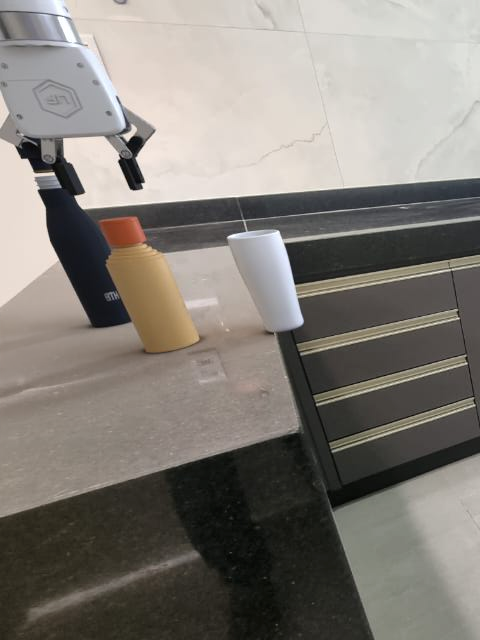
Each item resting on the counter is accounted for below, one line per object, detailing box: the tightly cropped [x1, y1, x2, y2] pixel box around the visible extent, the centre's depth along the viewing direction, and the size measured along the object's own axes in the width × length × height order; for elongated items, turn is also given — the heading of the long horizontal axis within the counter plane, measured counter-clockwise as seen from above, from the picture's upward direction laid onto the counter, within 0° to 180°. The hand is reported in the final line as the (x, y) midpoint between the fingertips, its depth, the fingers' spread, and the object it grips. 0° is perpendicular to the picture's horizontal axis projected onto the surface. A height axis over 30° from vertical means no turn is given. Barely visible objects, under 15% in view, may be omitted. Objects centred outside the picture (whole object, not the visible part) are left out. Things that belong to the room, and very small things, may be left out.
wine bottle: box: [14, 135, 132, 328], centre depth 86 cm, size 6×6×30 cm
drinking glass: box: [226, 229, 305, 334], centre depth 81 cm, size 7×7×15 cm
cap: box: [97, 216, 148, 247], centre depth 73 cm, size 4×4×3 cm
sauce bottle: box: [106, 242, 200, 354], centre depth 76 cm, size 6×6×18 cm
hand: (107, 190), depth 71 cm, fingers open, 5 cm apart
